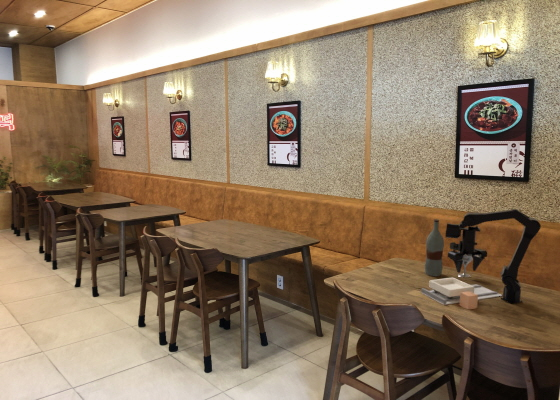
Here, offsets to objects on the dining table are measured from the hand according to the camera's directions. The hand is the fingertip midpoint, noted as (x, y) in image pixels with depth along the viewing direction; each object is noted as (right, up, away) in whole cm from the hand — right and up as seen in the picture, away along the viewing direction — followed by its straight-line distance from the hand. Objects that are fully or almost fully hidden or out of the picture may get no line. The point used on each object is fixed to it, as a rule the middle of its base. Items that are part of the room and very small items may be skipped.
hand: (466, 271), depth 208 cm
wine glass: (+11, -7, +29) cm, 32 cm away
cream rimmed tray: (-8, -10, -1) cm, 13 cm away
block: (-5, -13, -14) cm, 20 cm away
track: (-2, -11, +1) cm, 11 cm away
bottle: (-5, -7, +32) cm, 33 cm away
